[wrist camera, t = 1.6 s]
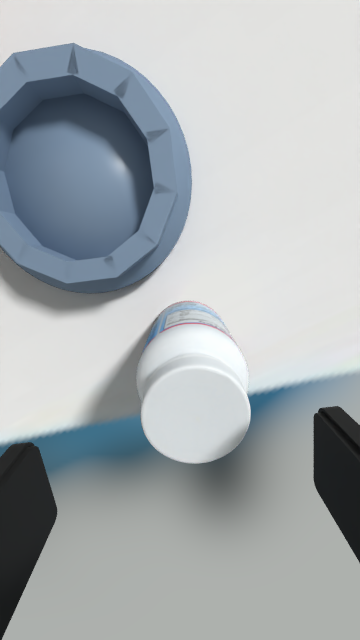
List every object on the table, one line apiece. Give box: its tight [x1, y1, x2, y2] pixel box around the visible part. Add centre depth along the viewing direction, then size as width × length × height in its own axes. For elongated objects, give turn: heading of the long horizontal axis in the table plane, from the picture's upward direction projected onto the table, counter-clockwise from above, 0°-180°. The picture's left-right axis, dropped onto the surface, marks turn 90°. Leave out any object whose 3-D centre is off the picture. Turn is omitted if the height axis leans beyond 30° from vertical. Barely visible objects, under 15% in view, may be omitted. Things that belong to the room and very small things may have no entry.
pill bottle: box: [136, 301, 250, 463], centre depth 16 cm, size 6×6×11 cm
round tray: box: [0, 43, 192, 293], centre depth 17 cm, size 15×15×3 cm
